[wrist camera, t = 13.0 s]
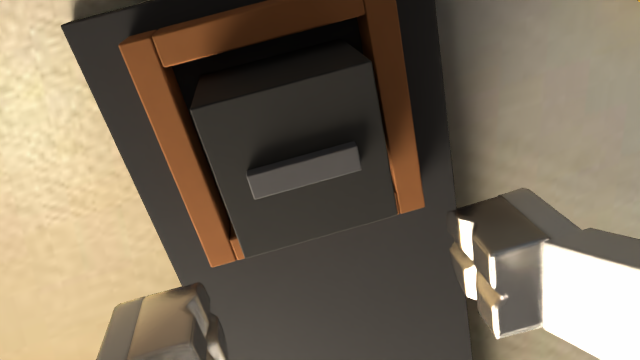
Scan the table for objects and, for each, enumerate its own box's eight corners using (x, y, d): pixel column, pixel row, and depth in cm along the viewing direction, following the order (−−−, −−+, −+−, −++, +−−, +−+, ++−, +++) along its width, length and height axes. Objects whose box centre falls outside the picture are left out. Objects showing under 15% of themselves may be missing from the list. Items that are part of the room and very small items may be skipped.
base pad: (69, 21, 15) (41, 32, 13) (417, -68, 16) (446, -73, 14) (302, 530, 30) (307, 576, 28) (479, 473, 30) (498, 514, 28)
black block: (242, 200, 18) (245, 267, 14) (199, 75, 16) (187, 113, 12) (366, 165, 18) (402, 222, 14) (341, 37, 16) (376, 63, 12)
